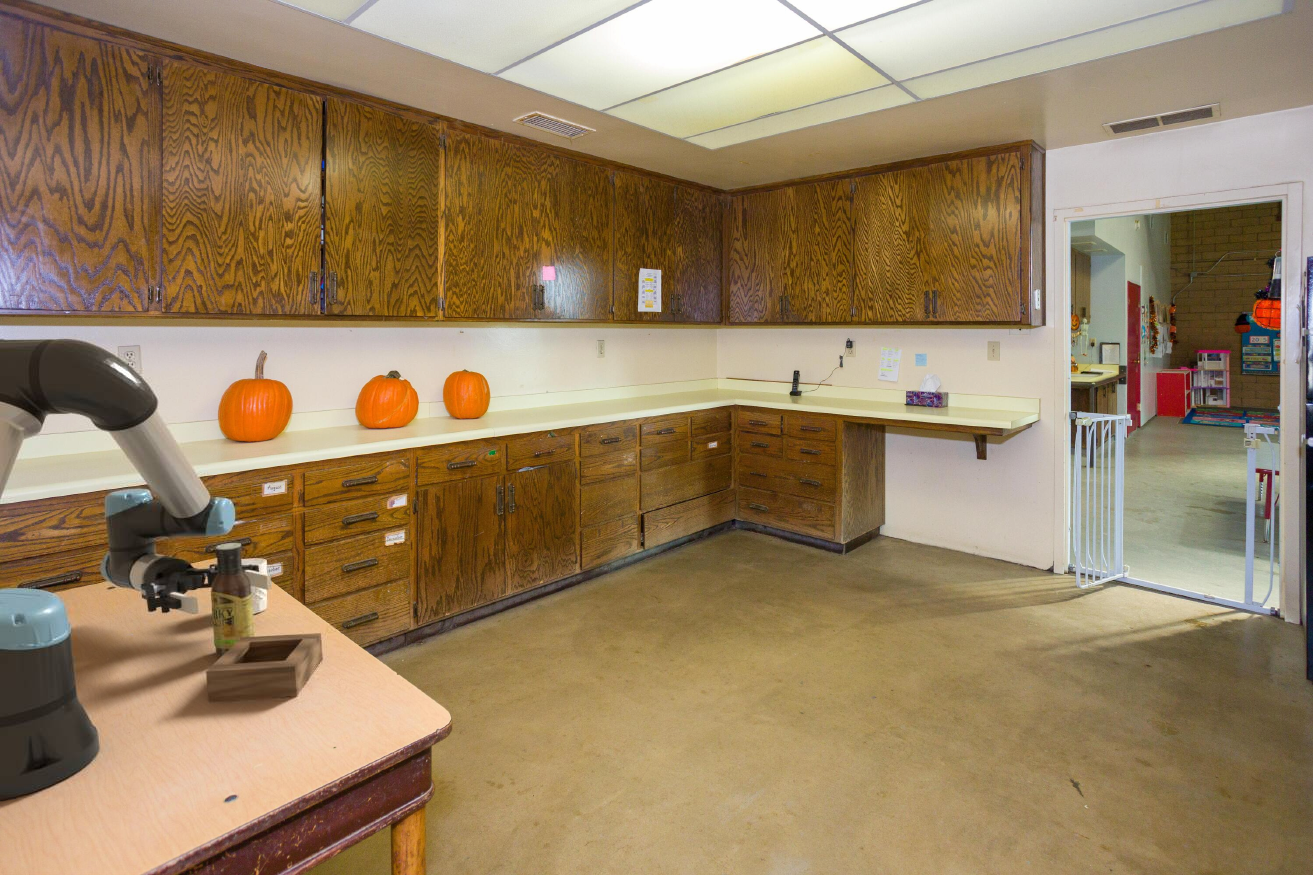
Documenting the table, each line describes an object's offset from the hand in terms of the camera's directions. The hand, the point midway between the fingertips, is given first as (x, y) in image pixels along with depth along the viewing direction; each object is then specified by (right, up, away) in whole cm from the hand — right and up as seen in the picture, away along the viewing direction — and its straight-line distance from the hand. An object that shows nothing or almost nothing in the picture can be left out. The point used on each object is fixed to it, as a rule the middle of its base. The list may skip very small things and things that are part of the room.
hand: (234, 593), depth 130 cm
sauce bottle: (0, -11, +1) cm, 11 cm away
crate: (+11, -12, -9) cm, 19 cm away
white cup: (-9, -8, +21) cm, 24 cm away
